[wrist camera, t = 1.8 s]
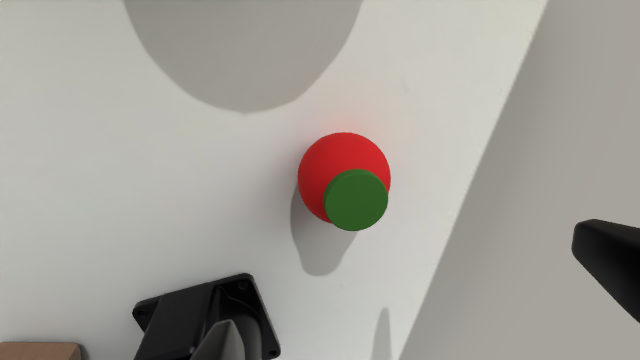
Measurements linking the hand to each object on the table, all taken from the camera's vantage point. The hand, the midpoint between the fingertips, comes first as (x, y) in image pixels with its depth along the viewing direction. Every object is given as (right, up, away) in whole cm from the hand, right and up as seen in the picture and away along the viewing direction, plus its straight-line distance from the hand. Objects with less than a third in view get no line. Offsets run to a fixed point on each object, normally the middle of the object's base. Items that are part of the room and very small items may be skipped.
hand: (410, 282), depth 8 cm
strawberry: (-2, +3, +8) cm, 8 cm away
